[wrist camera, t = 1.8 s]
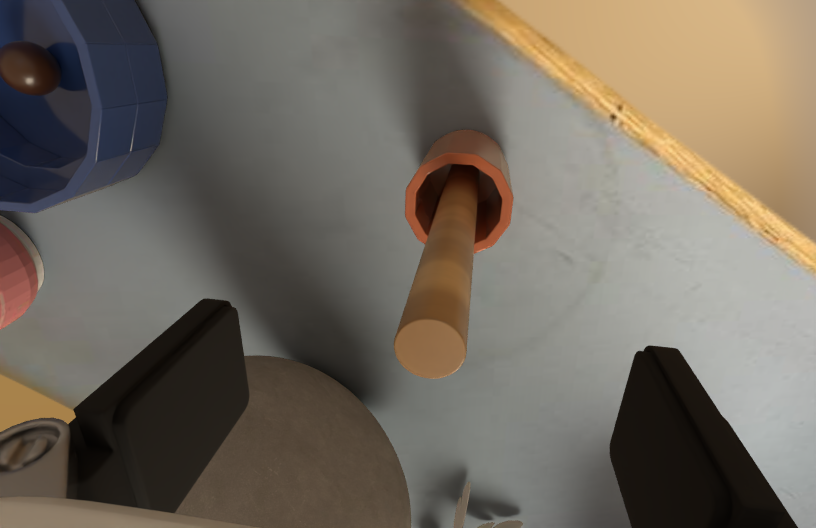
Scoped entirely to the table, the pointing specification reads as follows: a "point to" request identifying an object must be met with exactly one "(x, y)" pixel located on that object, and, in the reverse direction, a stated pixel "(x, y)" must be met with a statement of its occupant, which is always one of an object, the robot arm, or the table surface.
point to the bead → (29, 68)
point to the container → (17, 272)
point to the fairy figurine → (503, 527)
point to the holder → (491, 191)
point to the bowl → (79, 102)
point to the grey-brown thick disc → (302, 458)
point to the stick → (442, 284)
